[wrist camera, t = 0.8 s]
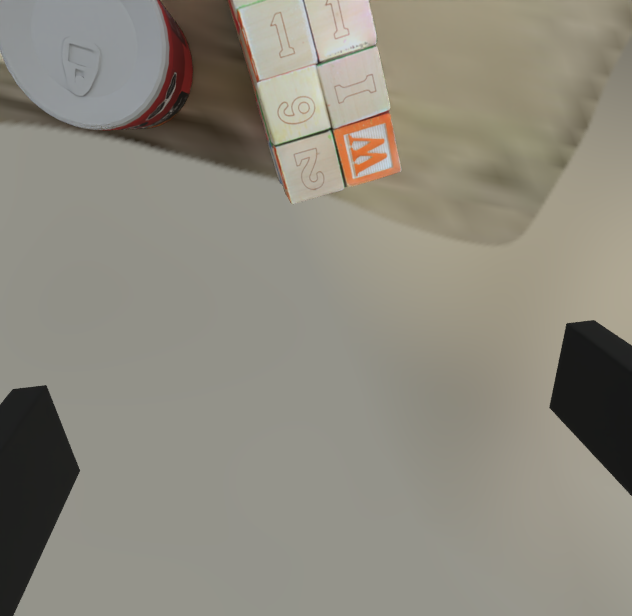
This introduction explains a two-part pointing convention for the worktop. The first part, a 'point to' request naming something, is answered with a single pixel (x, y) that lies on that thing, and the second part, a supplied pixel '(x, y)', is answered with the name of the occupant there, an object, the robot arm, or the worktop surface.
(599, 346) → the robot arm
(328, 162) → the stack of blocks
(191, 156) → the worktop surface
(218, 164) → the worktop surface
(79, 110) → the canned food
